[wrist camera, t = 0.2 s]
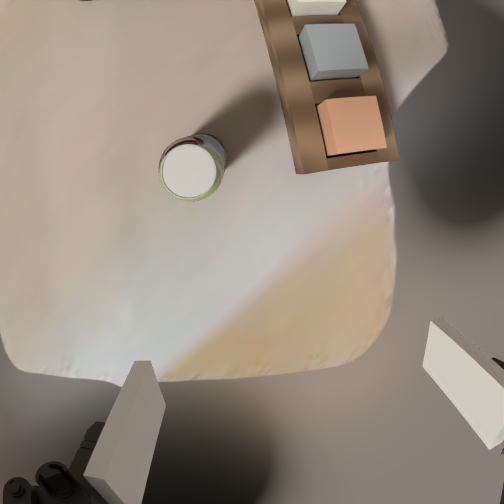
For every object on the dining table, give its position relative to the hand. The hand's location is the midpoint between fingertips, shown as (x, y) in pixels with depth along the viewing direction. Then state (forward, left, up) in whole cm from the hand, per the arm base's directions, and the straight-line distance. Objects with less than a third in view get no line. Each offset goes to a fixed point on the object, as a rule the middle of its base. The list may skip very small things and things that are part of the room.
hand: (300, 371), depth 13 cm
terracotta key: (-12, +12, -23) cm, 29 cm away
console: (-21, +12, -27) cm, 36 cm away
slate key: (-21, +12, -23) cm, 33 cm away
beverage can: (-11, -5, -28) cm, 30 cm away
